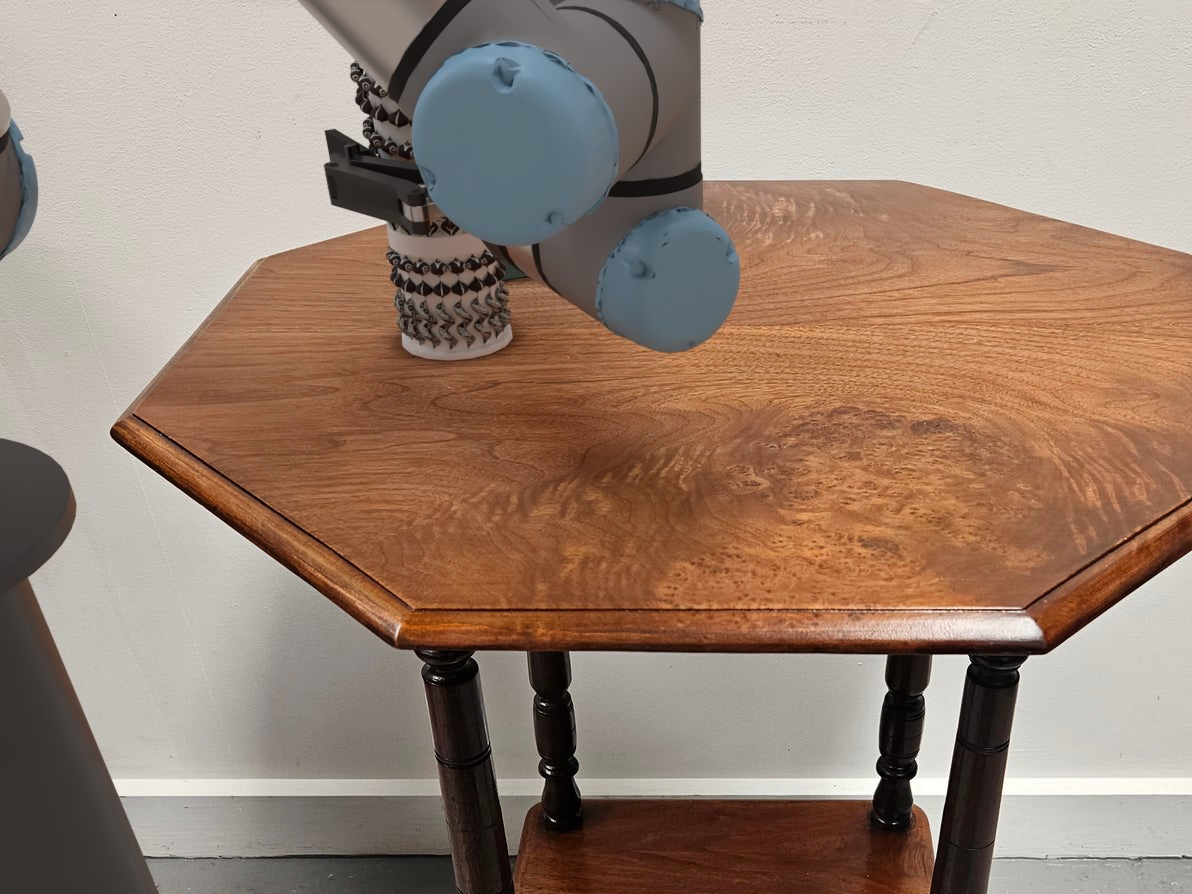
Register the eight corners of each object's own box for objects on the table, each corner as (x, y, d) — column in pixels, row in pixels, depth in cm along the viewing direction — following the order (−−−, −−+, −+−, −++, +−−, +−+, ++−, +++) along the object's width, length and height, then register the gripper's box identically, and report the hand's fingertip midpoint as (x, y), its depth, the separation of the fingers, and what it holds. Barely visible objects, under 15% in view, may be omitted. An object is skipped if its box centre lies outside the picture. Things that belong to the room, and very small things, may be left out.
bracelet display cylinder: (437, 309, 100) (383, -54, 85) (539, 325, 98) (503, -47, 82) (372, 351, 94) (300, -34, 78) (479, 369, 91) (428, -26, 76)
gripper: (385, 319, 73) (262, 220, 87) (711, 245, 83) (553, 167, 97) (361, 184, 68) (236, 103, 83) (710, 123, 78) (544, 60, 93)
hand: (407, 138), depth 90 cm, fingers open, 10 cm apart
